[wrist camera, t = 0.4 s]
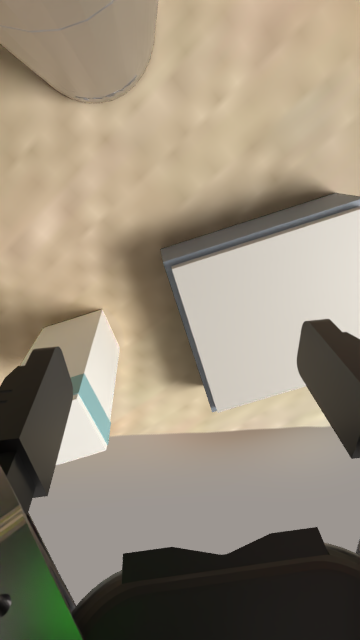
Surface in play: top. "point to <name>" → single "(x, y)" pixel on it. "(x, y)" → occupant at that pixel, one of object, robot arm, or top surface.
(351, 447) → the robot arm
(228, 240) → the podium
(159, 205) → the top surface
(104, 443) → the carton
